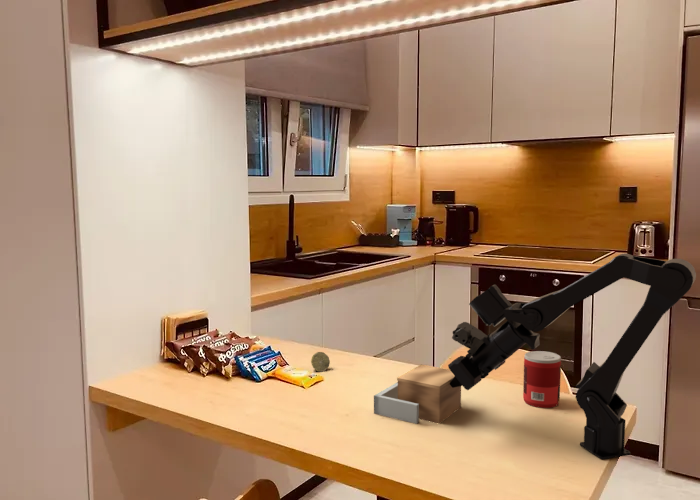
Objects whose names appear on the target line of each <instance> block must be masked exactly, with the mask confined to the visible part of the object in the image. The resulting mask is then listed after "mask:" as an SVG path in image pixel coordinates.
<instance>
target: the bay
mask: <svg viewBox="0 0 700 500" xmlns="http://www.w3.org/2000/svg"><path fill="white" fill-rule="evenodd" d="M373 414H375V415H380V416H383V417H388V418H391V419H396V420H398V421H399V420H400V421H403V422H408V423H412V424H418V423H419V420H420V419H419V404H417V403H412V402H408V401H404V400H399V399H398V381H397V382H395V383H394V384H391V385H390V386H388V387H386V388H385V389H383V390H381V391H380V392H378V393H376V394H375V395H373Z"/></svg>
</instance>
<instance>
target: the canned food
mask: <svg viewBox="0 0 700 500" xmlns="http://www.w3.org/2000/svg"><path fill="white" fill-rule="evenodd" d="M523 360H524V361H523V391H522V392H523V393H522V397H523V401H524V403H525V404H527V405H528V406H532V407H535V408H541V409H550V408H556V407H557V406H558V405H559V403H560V398H561V397H560V396H561V395H560V394H561V393H560V392H561V374H562V373H561V372H562V357H561V355H559V354H557V353H556V352H552V351H543V350H542V351H541V350H536V351H535V350H534V351H528V352H525V353H524V358H523Z"/></svg>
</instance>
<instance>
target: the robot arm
mask: <svg viewBox="0 0 700 500" xmlns="http://www.w3.org/2000/svg"><path fill="white" fill-rule="evenodd" d="M621 279H628V280H631V281H634V282H637V283H639V284H643V285H645V286H649V289H648V292H647V294H646V297H645V300H644V302H643V304H642V305H641V307H640V309H639V310H638V312H637V313H636V315H635V316H634V318H633V319H632V320H631V322H630V324H629V325H628V327H627V328H626V330H625V331H624V332H623V334H622V336H621V337H620V339H619V340H618V342H616V345H614V348H613V349H612V350H611V352H610V353H609V355H608V357H607V358H606V359H605V361H604V362H602V363H601V364H600V365H598V363H596V362H595V361H593V362H592V363H591V364H590V366H589V367H587V369H586V371H585V373H584V375H583V376H582V378H581V379H580V380H579V381H578V382H577V384H576V385H575V388H577V391H576V393H575V399H576V402H577V405H578V406H579V408H580V409H582V411H583V412H584V415H585V418H586V422H585V423H586V424H585V425H584V429H583V430H584V431H583V441H579V446H580V447H582V448H583V449H585V450H586V451H588V452H590V453H591V454H592V455H594V456H595V457H596V458H599V459H600V460H606V459H613V458H619V457H624V456H625V457H626V456H630V455H631V451H630V450H627V449H626V448H625V437H626V419H625V418H623V417H622V416H623V415H624V413H625V410H626V409H627V407H628V404H627V403H626V402H625V401H624V399H623V398H622V397H621V396H620V395H619V394H618V393H617V390H618V388H619V386H620V383H621V381H622V378H623V376H624V372H625V371H626V370H627V368H628V366H629V365H631V362H632V361H633V359H634V358H635V356H636V355H637V353H638V352H639V350H640V349H641V348H642V346H643V345H644V344H645V342H646V341H647V340H648V337H649V336H651V335H650V334H651V333H652V332H653V330H654V329H655V327H656V326H657V324H658V323H659V322H660V320H661V318H662V317H663V316H664V315H665V314H666V313H667V312H668V311H669V310H670V309H671V308H672V307H673V306H675V304H677V303H678V302H679V301H680V300H681V299H682V298H683V297H684V296H685V294H687V293H688V292H689V291H690V290H691V288H692V287H693V285H694V283H695V281H696V279H697V273H696V268H695V267H694V266H693V265H692V263H691V262H690V261H688V260H685V259H683V258H673V259H669V260H662V259H657V258H651V257H643V256H636V255H632V254H629V253H624V252H623V253H620V254H618V255H616V256H614V257H613V258H612V259H611V260H610V261H609V262H607V263H605V264H604V265H602V266H600V267H599V268H597V269H595V270H593V271H591V272H589V273H588V274H586V275H584V276H582V277H581V278H579V279H578V280H575V281H574V282H573V283H571V284H569V285H567V286H566V287H564V288H561V289H559V290H556V291H553V292H550V293H548V294H545V295H542V296H539V297H537V298H534V299H531V300H530V301H528V302H515V303H513V304H512V303H511V302H510V300H509V299H508V298H507V297H506V296H505V295H504V293H502V291H501V289H500V288H499V287H498V286H497V284H493V285H491V286H489V288H487V289H486V290H485V291H483V292H482V293H481V294H479V295H477V296H475V297H474V298H473V299H472V300H471V301H470V302H469V304H468V305H469V306H470V307H471V309H472V310H473V312H474V313H476V315H477V316H478V317H479V319H481V320H482V322H483V323H484V324H485V326H488V327H490V326H493V327H496V326H498V325H499V324H500V323H501V322H503V321H504V320H505V319H506V321H505V322H504V323H503V324H501V325H500V326H499V327H498V328H496V330H494V331H493V332H490V333H488V335H487V334H486V333H484V332H483V331H482V330H480V328H478V327H476V326H474V325H473V324H471V323H470V322H467V321H463V322H461V323H459V324H458V325H457V326H456V328H455V329H454V330H453V331H452V337H451V339H452V340H453V341H455V342H457V343H459V344H460V345H462V346H463V347H466V348H467V349H468V350H467V351H466V352H467V354H466V355H465V356H464V355H460V356H458V357H457V358H455V359H454V360H453V361H451V362H450V363H449V364H448V365H447V366H448V370H451V372H452V373H453V374H454V378H453V379H452V381H451V382H450V385H451V387H452V388H454V387H459V386H461V387H462V388H464V390H466V391H469V390H471V389H472V388H473V387H475V386H476V385H477V384H478V383H480V382H481V381H482V380H483V379H485V378H486V377H487V376H489V374H490V373H491V372H493V371H496V370H498V369H499V368H500V367H502V366H503V365H504V364H505V363H506V361H507V359H509V358H510V357H511V356H513V355H514V354H515V353H517V351H518V350H520V349H521V348H522V347H523V346H525V345H527V346H529V348H530V349H531V350H535V349H536V348H537V347H539V346H540V344H541V343H540V336H541V335H540V334H541V333H537V332H541V331H543V330H544V329H546V328H547V327H548V326H549V325H551V324H553V323H554V322H555V321H556V320H557V319H559V318H560V316H562V315H564V313H566V311H568V310H569V309H570V308H571V307H573V306H575V305H577V304H579V303H581V302H582V301H584V300H586V299H587V298H589V297H591V296H593V295H595V294H596V293H598V292H599V291H602V290H603V289H605V288H607V287H609V286H611V285H612V284H614V283H615V282H618V281H620V280H621Z"/></svg>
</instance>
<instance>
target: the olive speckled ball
mask: <svg viewBox="0 0 700 500" xmlns="http://www.w3.org/2000/svg"><path fill="white" fill-rule="evenodd" d="M330 362H331V361H330V357H329V356H328V354H327V353H326V352H323V351H317V352H315V353H314V354H313V355H312V356H311V360H310V363H311V366H312V368H313V369H314V370H315V371H316V372H324V371H326V370H327V369H328V368H329V367H330V364H331V363H330Z"/></svg>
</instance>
